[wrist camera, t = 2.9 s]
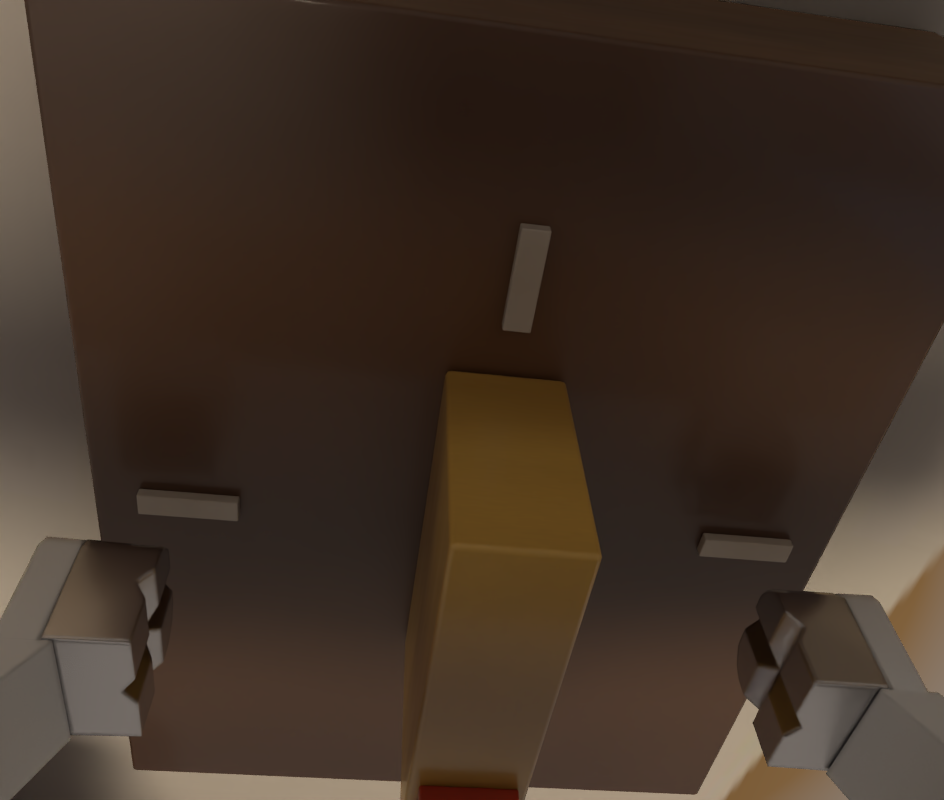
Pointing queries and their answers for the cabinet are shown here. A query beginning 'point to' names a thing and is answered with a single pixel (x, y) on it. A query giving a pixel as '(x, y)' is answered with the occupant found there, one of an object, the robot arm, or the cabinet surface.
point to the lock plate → (480, 331)
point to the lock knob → (494, 588)
